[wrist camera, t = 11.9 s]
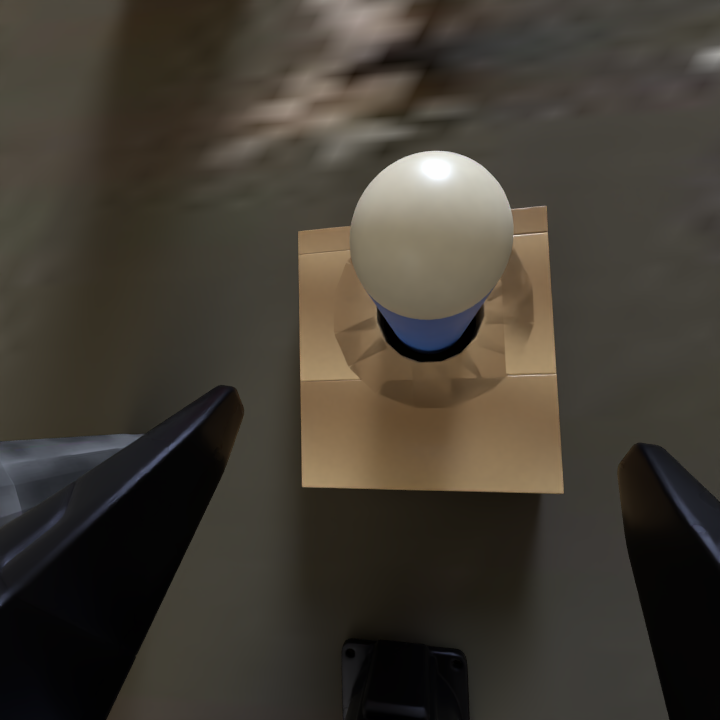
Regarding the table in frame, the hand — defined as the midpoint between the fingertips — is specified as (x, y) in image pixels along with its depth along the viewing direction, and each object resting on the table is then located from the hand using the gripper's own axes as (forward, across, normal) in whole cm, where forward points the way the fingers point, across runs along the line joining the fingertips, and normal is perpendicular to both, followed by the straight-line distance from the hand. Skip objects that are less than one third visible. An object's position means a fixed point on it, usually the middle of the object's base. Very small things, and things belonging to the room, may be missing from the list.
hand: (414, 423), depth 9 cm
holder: (+10, 0, +7) cm, 12 cm away
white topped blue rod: (+12, 0, +5) cm, 13 cm away
